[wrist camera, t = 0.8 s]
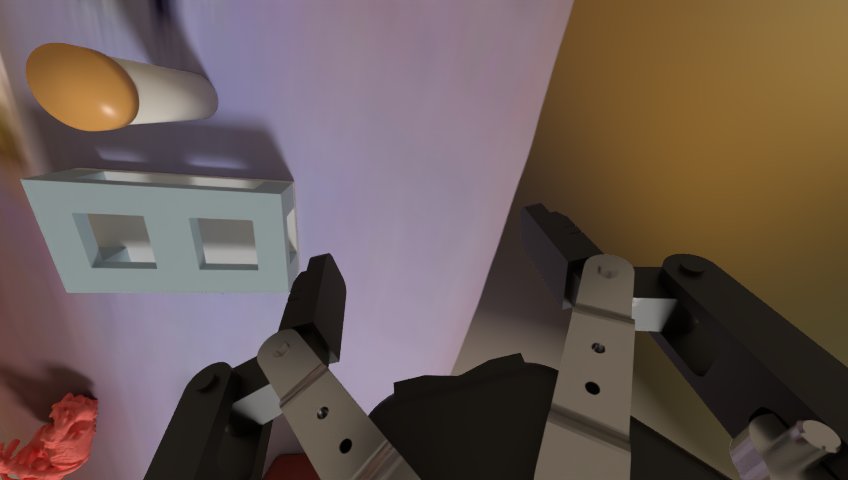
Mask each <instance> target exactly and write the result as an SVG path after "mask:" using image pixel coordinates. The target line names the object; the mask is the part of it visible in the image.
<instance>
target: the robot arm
mask: <svg viewBox="0 0 848 480" xmlns="http://www.w3.org/2000/svg"><path fill="white" fill-rule="evenodd" d="M520 238H521V244H522V247H523V249H524V251H525V253H526V254H527V256H528V258H529V259H530V261H531V262H532V264H533V265H534V267H535V268H536V270H537V271H538V273H539V274H540V276H541V278H542V279H543V281H544V282H545V284H546V285H547V287H548V288H549V290H550V291H551V293H552V294H553V296H554V297H555V299H556V301H557V302H558V303H559V305H560V306H561V308H562V309H566V308H570V307H573V313H572V317H571V322H570V326H569V330H568V334H567V339H566V343H565V348H564V352H563V356H562V361H561V365H560V369H559V371H558V370H556V369H554V368H551V367H548V366H545V365H541V364H537V363H527V362H524V360H523V357H522V355H521V353H518V354H513V355H509V356H504V357H500V358H496V359H492V360H488V361H487V362H485V363H483V364H481V365H479V366H477V367H475V368H473V369H472V370H470V371H468V372H466V373H464V374H462V375H459V376H434V375H424V376H420V377H415V378H411V379H407V380H403V381H399V382H394V394H392V395H390V396H389V397H387V398H386V399H384V400H383V401H382V402H381V403H379V404H378V405H377V406H376V407H375V408H374V409H373V410H372V411H371V412H370V414H369V415H368V416H367V415H366V413H365V412H364V411H363V410H362V409H361V407H360V406H359V405H358V404H357V403H356V401H355V400H354V399H353V398H352V397H351V395H350V394H349V393H348V392H347V390H346V389H345V388H344V387H343V386H342V384H341V383H340V382H339V381H338V380H337V378H336V377H335V376H334V375H333V374H332V372H331V371H330V370H329V369H328V366H329V364H331V363H335V362H339V360H340V350H341V340H342V330H343V321H344V311H345V301H346V285H345V282H344V279H343V277H342V275H341V273H340V271H339V269H338V267H337V265H336V263H335V261H334V259H333V257H332V255H331V254H330V253H327V254H323V255H319V256H315V257H311V258H310V260H309V264H308V267H307V271H304V272H301V273H300V274H299V275H298V277H297V278H296V279H295V281H294V282H293V285H292V288H291V291H290V294H289V297H288V303H287V304H286V307H285V310H284V314H283V317H282V320H281V323H280V326H279V330H278V332H277V333H275V334H273V335H272V336H270V337H269V338H268V339H267V340H266V341H265V342H264V343H263V344H262V346H261V347H260V349H259V351H258V354H257V356H256V357H254V358H252V359H250V360H248V361H246V362H244V363H243V364H241V365H239V366H237V367H235V368H232V367H231V366H230V365H228V364H227V363H225V362H218V363H214V364H211V365H209V366H207V367H206V368H204V369H203V370H201V371H200V372H199V373H197V374H196V375H195V376H194V377H193V378H192V380H191V381H190V382H189V383H188V385H187V386H186V388H185V390H184V392H183V395H182V397H181V399H180V401H179V403H178V405H177V408H176V410H175V412H174V414H173V416H172V418H171V421H170V423H169V425H168V427H167V429H166V432H165V434H164V436H163V438H162V440H161V442H160V445H159V447H158V449H157V451H156V453H155V455H154V458H153V460H152V462H151V464H150V466H149V468H148V471H147V473H146V475H145V477H144V479H143V480H261V477H262V472H263V467H264V462H265V457H266V452H267V447H268V442H269V437H270V432H271V427H272V423H273V419H274V418H275V417H277V416H279V415H280V414H282V413H283V414H284V416H285V418H286V419H287V421H288V423H289V425H290V426H291V428H292V430H293V432H294V433H295V435H296V437H297V439H298V440H299V442H300V444H301V446H302V447H303V449H304V451H305V453H306V454H307V456H308V458H309V460H310V461H311V463H312V465H313V467H314V468H315V470H316V472H317V474H318V475H319V477H320V479H321V480H732V479H730V478H729V477H727V476H726V475H724V474H723V473H721V472H720V471H718V470H716V469H715V468H713V467H711V466H710V465H708V464H707V463H705V462H704V461H702V460H701V459H699V458H697V457H696V456H694V455H692V454H691V453H689V452H688V451H686V450H685V449H683V448H682V447H680V446H678V445H677V444H675V443H674V442H672V441H671V440H669V439H667V438H666V437H664V436H663V435H661V434H659V433H658V432H656V431H654V430H653V429H652V428H650V427H648V426H647V425H645V424H644V423H642V422H640V421H639V420H637V419H636V418H634V417H633V416H631V415H630V408H631V390H632V373H633V355H634V337H635V330H638V331H648V333H649V334H650V335H651V336H652V338H653V339H654V340H655V341H656V343H657V344H658V345H659V346H660V347H661V349H662V350H663V351H664V353H665V354H666V355H667V356H668V357H669V359H670V360H671V361H672V363H673V364H674V365H675V366H676V368H677V369H678V370H679V371H680V373H681V374H682V375H683V377H684V378H685V379H686V380H687V382H688V383H689V384H690V385H691V387H692V388H693V389H694V390H695V392H696V393H697V394H698V395H699V397H700V398H701V399H702V401H703V402H704V403H705V404H706V405H707V407H708V408H709V409H710V411H711V412H712V413H713V414H714V416H715V417H716V418H717V419H718V421H719V422H720V423H721V424H722V426H723V427H724V428H725V429H726V431H727V432H728V433H729V434H730V436H731V437H732V438H733V440H732V442H731V444H730V454H731V458H732V460H733V462H734V464H735V466H736V468H737V469H738V471H739V474H740V477H741V479H742V480H848V368H847V367H846V366H845V365H844V364H842V363H841V362H840V361H838V360H837V359H836V358H834V357H833V356H832V355H831V354H830V353H828V352H827V351H826V350H824V349H823V348H822V347H821V346H819V345H818V344H817V343H815V342H814V341H813V340H811V339H810V338H809V337H808V336H806V335H805V334H804V333H803V332H801V331H800V330H799V329H798V328H796V327H795V326H794V325H792V324H791V323H790V322H789V321H787V320H786V319H785V318H783V317H782V316H781V315H780V314H778V313H777V312H776V311H774V310H773V309H772V308H771V307H769V306H768V305H767V304H766V303H764V302H763V301H762V300H760V299H759V298H758V297H756V296H755V295H754V294H753V293H751V292H750V291H749V290H748V289H746V288H745V287H744V286H742V285H741V284H740V283H738V282H737V281H736V280H735V279H733V278H732V277H731V276H730V275H728V274H727V273H726V272H724V271H723V270H722V269H721V268H719V267H718V266H716V264H714V263H713V262H711V261H709V260H707V259H705V258H702V257H699V256H695V255H690V254H675V255H671V256H669V257H667V258H666V259H665V260H664V262H663V264H662V267H632V266H631V264H630V263H628V262H627V261H626V260H624V259H622V258H620V257H617V256H612V255H605V254H604V253H603V252H602V251H600V249H598V247H597V246H596V245H595V244H594V243H593V242H592V241H591V240H590V239H589V238H588V237H587V236H586V235H585V234H584V233H582V232H581V230H580V229H579V228H578V227H577V226H575V224H574V223H573V222H572V221H571V220H570V219H569V218H568V217H567V216H564V215H562V214H560V213H558V212H551V213H550V212H549V211H548V210H547V209H546V208H545V207H544V206H543V205H542V204H541V203H537V204H532V205H529V206H524V207H521V210H520Z"/></svg>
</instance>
